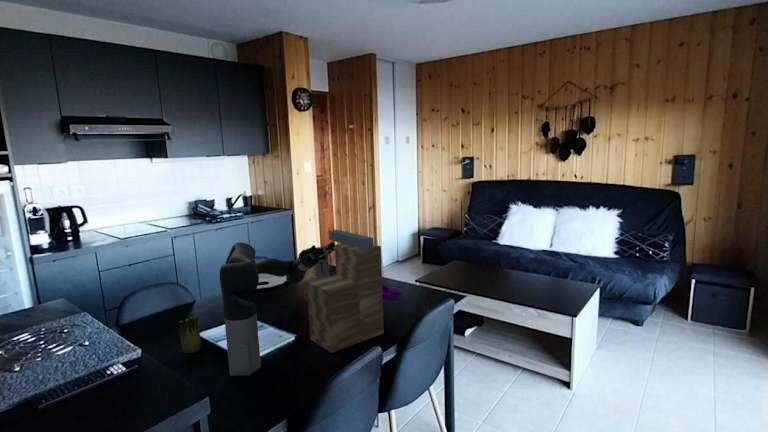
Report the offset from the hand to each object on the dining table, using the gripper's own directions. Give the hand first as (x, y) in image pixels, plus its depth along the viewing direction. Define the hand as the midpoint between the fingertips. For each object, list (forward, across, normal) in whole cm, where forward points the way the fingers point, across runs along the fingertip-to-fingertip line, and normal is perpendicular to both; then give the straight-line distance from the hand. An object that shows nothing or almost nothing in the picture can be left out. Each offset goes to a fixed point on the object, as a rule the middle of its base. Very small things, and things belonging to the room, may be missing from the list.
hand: (324, 245), depth 168 cm
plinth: (+6, +6, -36) cm, 37 cm away
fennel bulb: (-17, +52, -23) cm, 59 cm away
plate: (-65, +2, +5) cm, 65 cm away
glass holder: (-54, -26, -2) cm, 59 cm away
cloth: (-15, -30, -25) cm, 42 cm away
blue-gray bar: (+18, 0, -6) cm, 19 cm away
